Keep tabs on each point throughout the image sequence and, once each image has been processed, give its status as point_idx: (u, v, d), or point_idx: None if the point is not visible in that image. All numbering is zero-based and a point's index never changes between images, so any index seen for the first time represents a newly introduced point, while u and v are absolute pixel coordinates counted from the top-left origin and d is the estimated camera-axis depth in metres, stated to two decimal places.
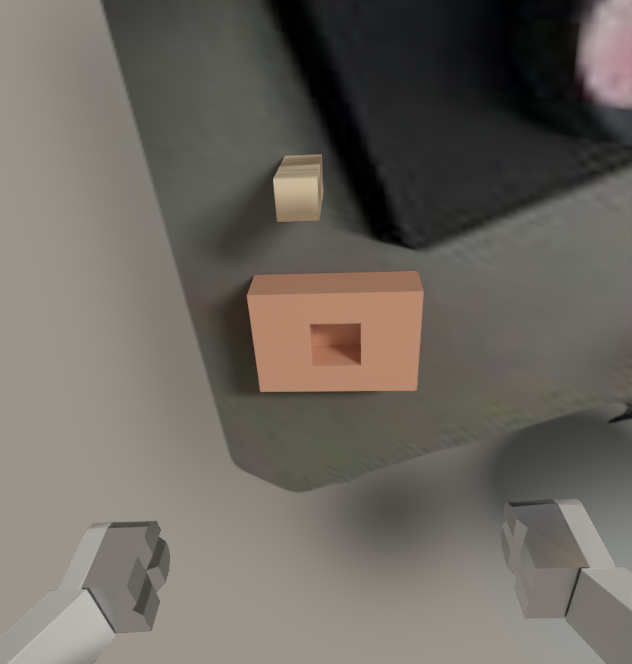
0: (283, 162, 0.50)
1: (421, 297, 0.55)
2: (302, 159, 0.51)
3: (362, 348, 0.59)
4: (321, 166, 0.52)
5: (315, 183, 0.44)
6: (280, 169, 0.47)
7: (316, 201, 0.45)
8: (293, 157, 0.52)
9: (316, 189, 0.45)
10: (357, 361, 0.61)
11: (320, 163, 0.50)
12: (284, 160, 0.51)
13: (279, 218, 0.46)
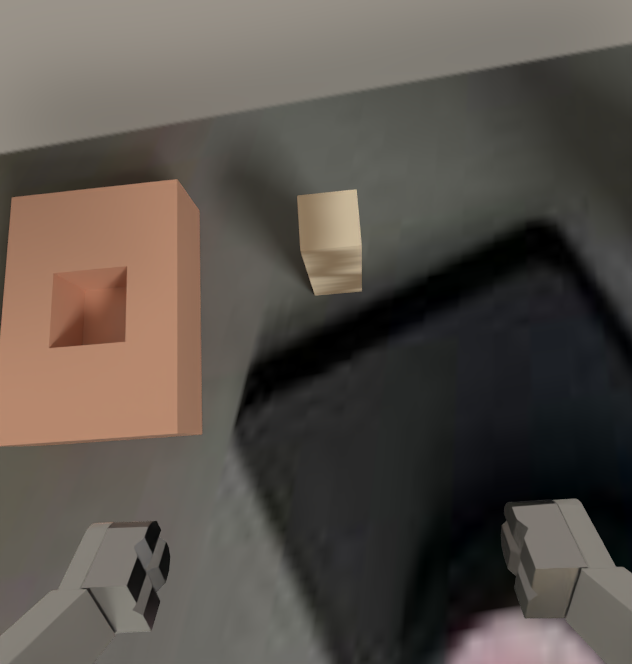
0: None
1: (166, 431, 0.35)
2: None
3: (80, 347, 0.37)
4: (350, 287, 0.40)
5: (353, 243, 0.32)
6: None
7: (327, 246, 0.32)
8: None
9: (344, 245, 0.32)
10: (56, 344, 0.38)
11: (358, 280, 0.38)
12: None
13: (301, 198, 0.33)
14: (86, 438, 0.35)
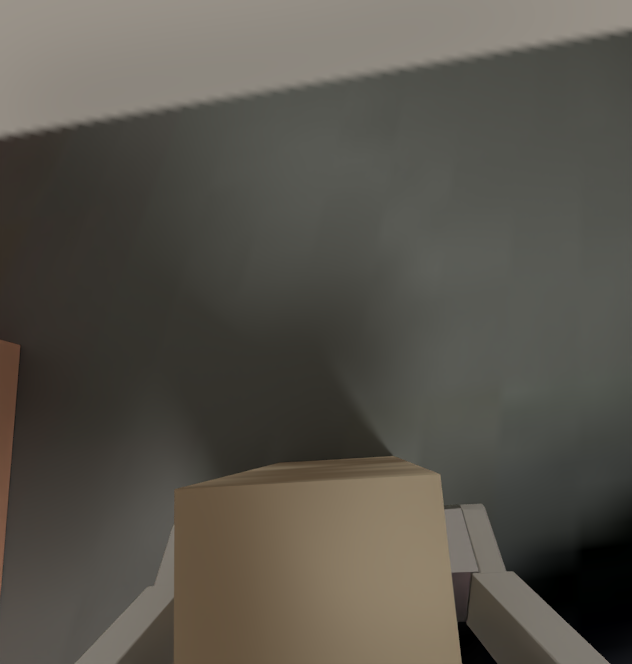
0: None
1: None
2: None
3: None
4: None
5: None
6: None
7: None
8: None
9: None
10: None
11: None
12: None
13: (194, 505, 0.07)
14: None
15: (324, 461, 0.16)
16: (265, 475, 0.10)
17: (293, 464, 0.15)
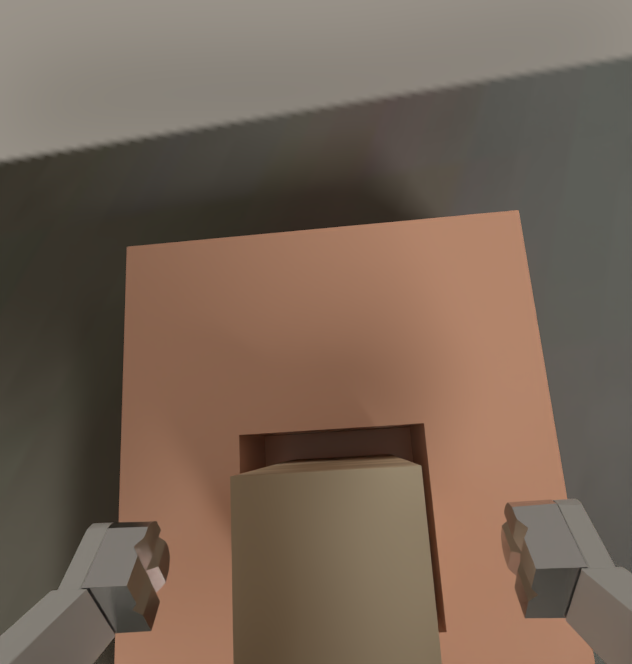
0: None
1: None
2: None
3: None
4: None
5: None
6: None
7: None
8: None
9: None
10: None
11: None
12: None
13: (245, 488, 0.10)
14: None
15: (332, 458, 0.18)
16: (290, 468, 0.12)
17: None
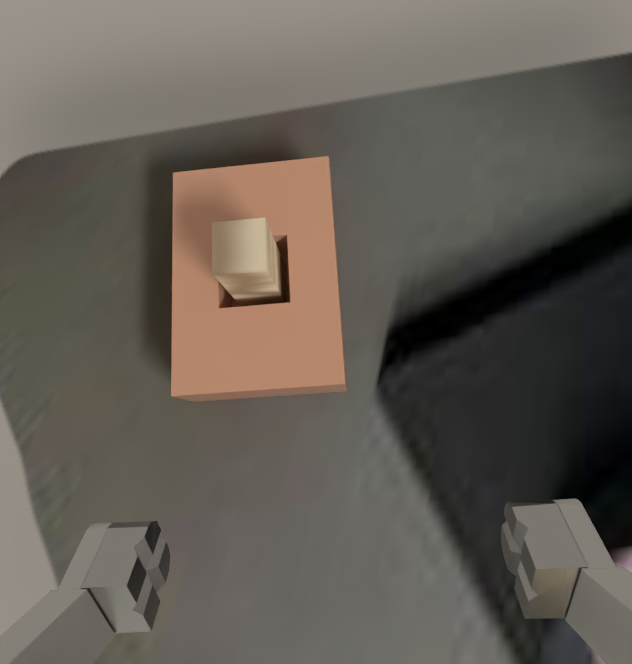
0: (279, 254, 0.42)
1: (335, 382, 0.38)
2: (282, 278, 0.43)
3: (248, 308, 0.40)
4: (274, 302, 0.43)
5: (259, 267, 0.35)
6: (273, 240, 0.39)
7: (236, 269, 0.35)
8: (284, 272, 0.44)
9: (251, 268, 0.35)
10: (221, 305, 0.41)
11: (278, 297, 0.42)
12: (281, 258, 0.43)
13: (215, 225, 0.36)
14: (260, 388, 0.39)
15: None
16: None
17: None
